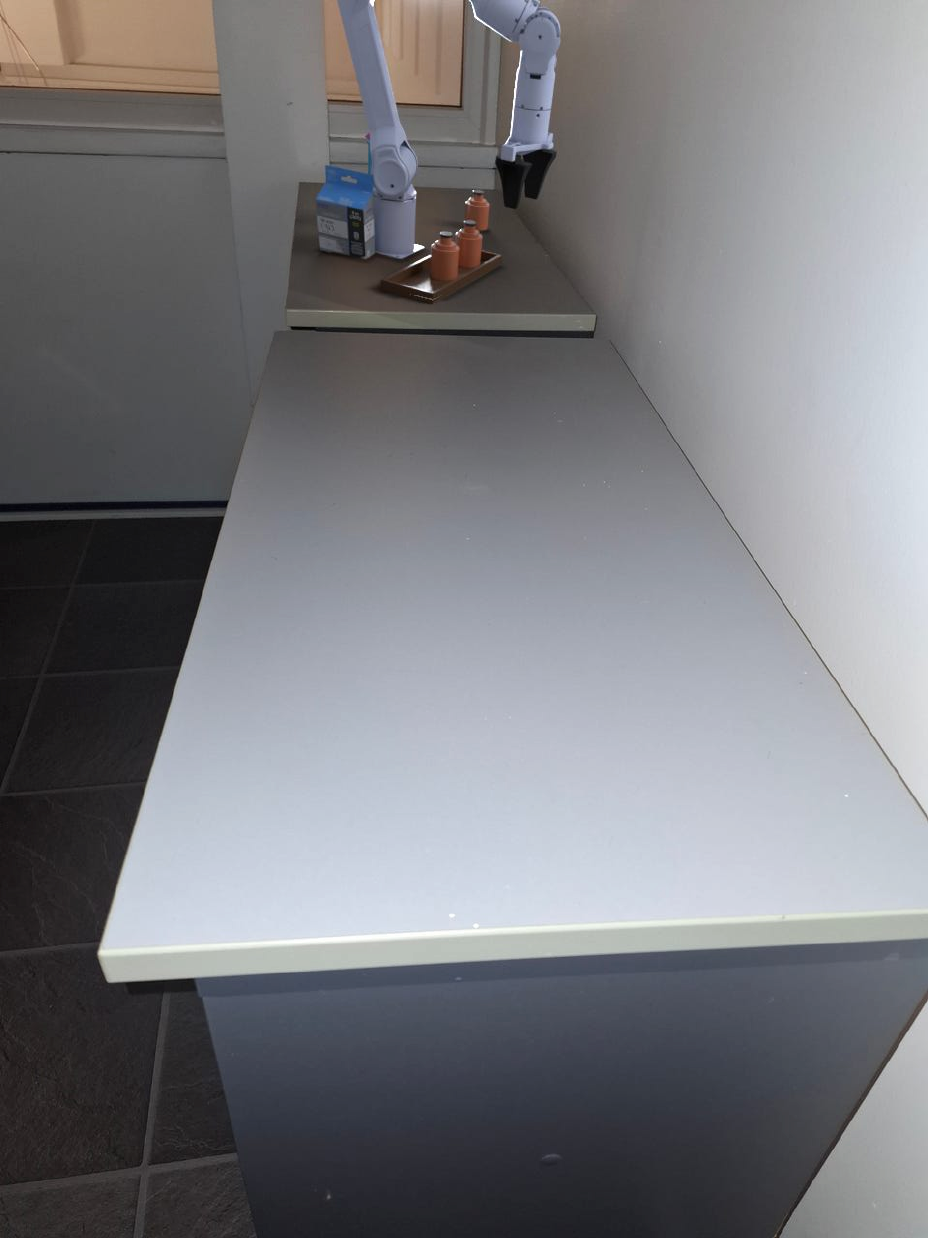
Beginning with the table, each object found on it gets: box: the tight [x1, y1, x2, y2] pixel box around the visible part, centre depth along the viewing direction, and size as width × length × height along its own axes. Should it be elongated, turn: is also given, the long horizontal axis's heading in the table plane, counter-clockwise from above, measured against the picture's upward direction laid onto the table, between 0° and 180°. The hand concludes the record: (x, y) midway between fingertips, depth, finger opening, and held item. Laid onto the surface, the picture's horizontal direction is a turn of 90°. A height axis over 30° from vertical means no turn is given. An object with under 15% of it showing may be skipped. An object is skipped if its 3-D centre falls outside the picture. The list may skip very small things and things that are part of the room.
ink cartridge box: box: [315, 164, 376, 260], centre depth 138 cm, size 9×4×12 cm, turn 67°
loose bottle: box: [463, 189, 491, 231], centre depth 156 cm, size 4×4×6 cm
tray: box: [379, 249, 503, 305], centre depth 136 cm, size 23×9×2 cm, turn 152°
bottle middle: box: [430, 231, 459, 281], centre depth 134 cm, size 4×4×6 cm
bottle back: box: [454, 220, 484, 268], centre depth 140 cm, size 4×4×6 cm
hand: (521, 202), depth 139 cm, fingers open, 7 cm apart
